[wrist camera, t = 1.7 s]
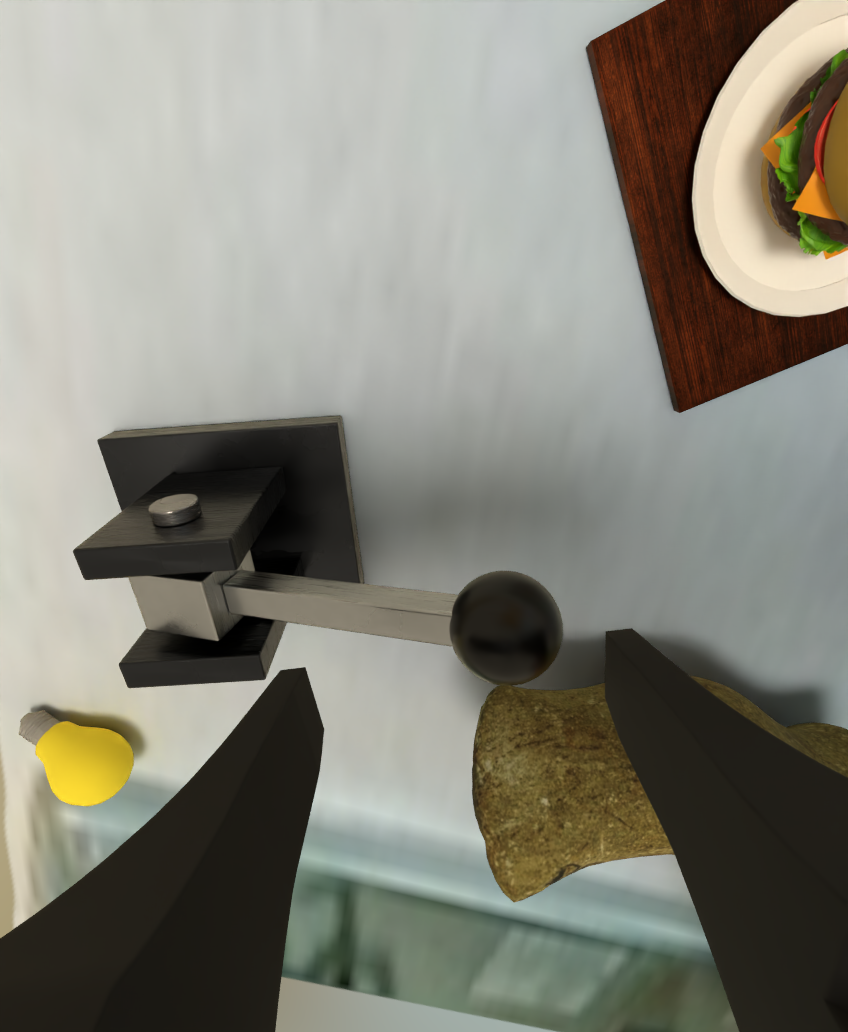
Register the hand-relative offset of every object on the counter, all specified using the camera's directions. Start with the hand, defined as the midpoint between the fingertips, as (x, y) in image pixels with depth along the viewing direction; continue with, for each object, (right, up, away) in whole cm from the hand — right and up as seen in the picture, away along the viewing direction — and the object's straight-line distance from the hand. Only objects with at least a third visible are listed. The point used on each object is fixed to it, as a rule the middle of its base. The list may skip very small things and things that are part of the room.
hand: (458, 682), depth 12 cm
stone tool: (+10, -13, +11) cm, 20 cm away
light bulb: (-17, -6, +13) cm, 22 cm away
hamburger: (+12, +15, +5) cm, 20 cm away
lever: (-3, +2, +4) cm, 5 cm away
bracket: (-8, +4, +9) cm, 13 cm away
